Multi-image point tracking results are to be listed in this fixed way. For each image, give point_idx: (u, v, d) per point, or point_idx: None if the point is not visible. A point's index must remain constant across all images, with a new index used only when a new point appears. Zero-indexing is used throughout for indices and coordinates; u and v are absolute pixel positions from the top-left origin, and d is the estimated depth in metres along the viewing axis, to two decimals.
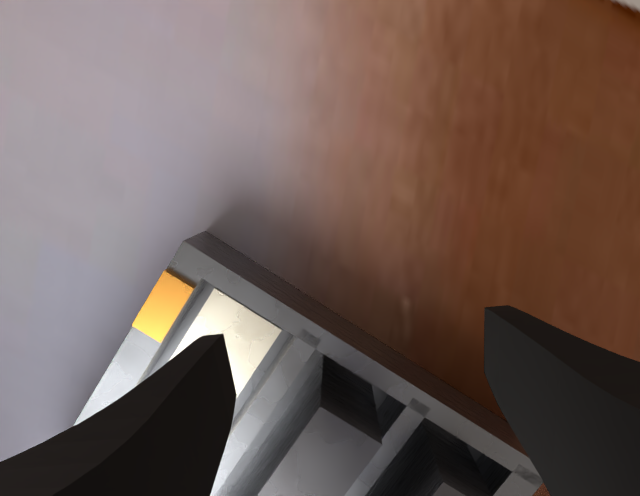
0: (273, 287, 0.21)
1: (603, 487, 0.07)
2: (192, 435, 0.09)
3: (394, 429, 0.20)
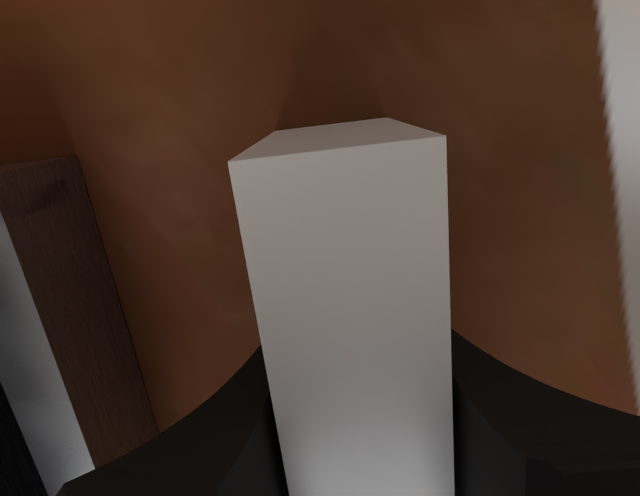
0: None
1: None
2: None
3: None
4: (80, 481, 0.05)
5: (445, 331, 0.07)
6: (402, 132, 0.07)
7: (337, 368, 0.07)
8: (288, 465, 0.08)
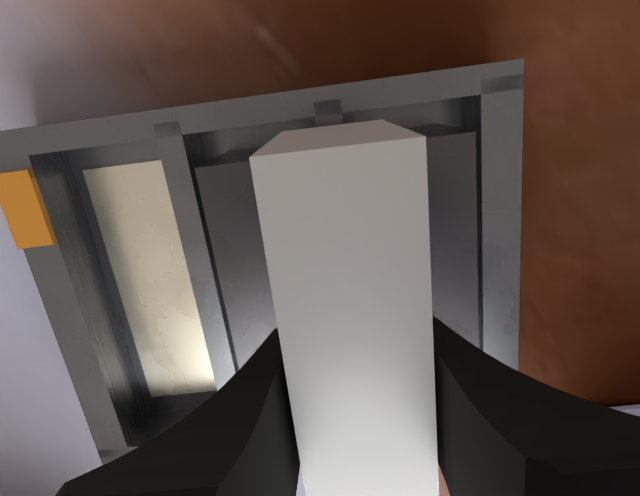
0: None
1: None
2: (285, 427, 0.09)
3: None
4: (80, 481, 0.05)
5: (427, 298, 0.08)
6: (392, 133, 0.08)
7: (337, 330, 0.08)
8: (296, 414, 0.09)
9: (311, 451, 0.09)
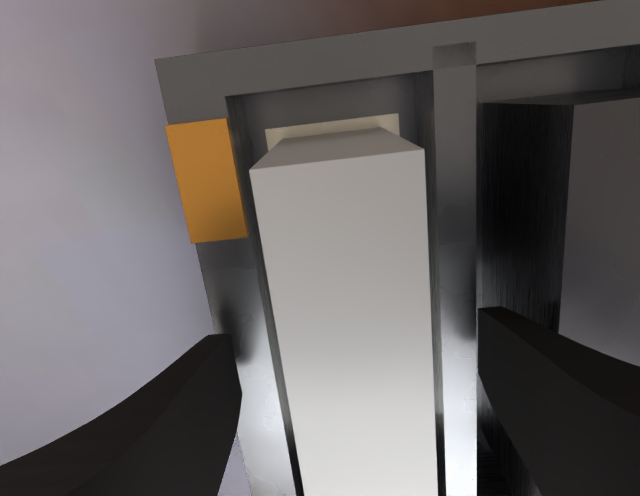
0: None
1: (592, 488, 0.07)
2: (200, 434, 0.09)
3: None
4: None
5: (426, 308, 0.08)
6: (391, 144, 0.08)
7: (336, 340, 0.09)
8: (296, 423, 0.09)
9: (310, 460, 0.10)
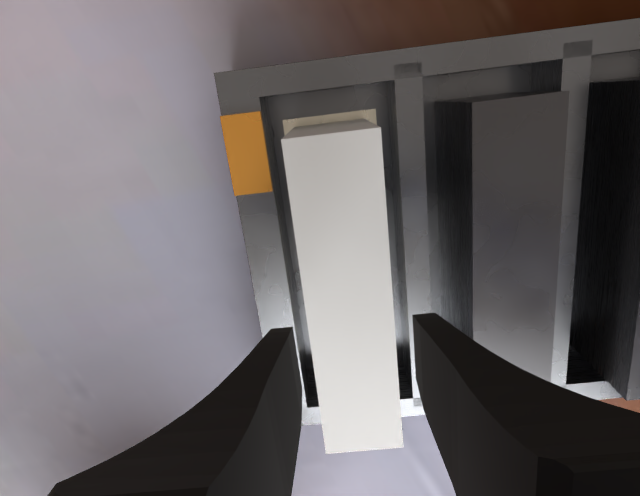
0: None
1: None
2: (280, 427, 0.09)
3: None
4: (72, 482, 0.05)
5: (385, 223, 0.14)
6: (364, 126, 0.14)
7: (331, 244, 0.14)
8: (306, 300, 0.15)
9: (315, 326, 0.15)
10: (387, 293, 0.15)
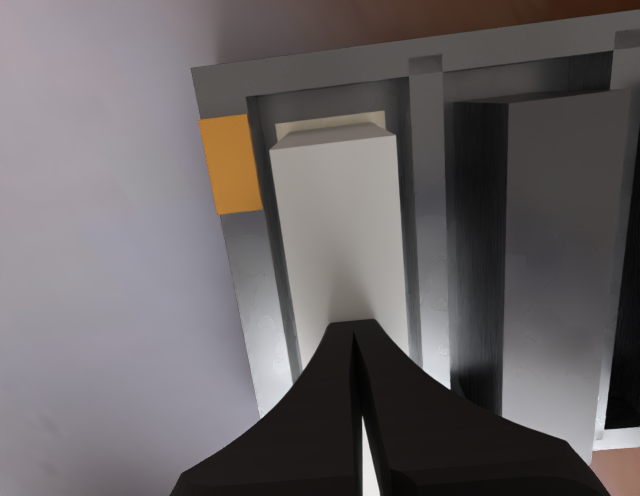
0: None
1: None
2: (355, 421, 0.09)
3: None
4: (197, 471, 0.05)
5: (400, 255, 0.11)
6: (373, 133, 0.11)
7: (333, 280, 0.11)
8: (302, 346, 0.12)
9: None
10: (401, 338, 0.12)
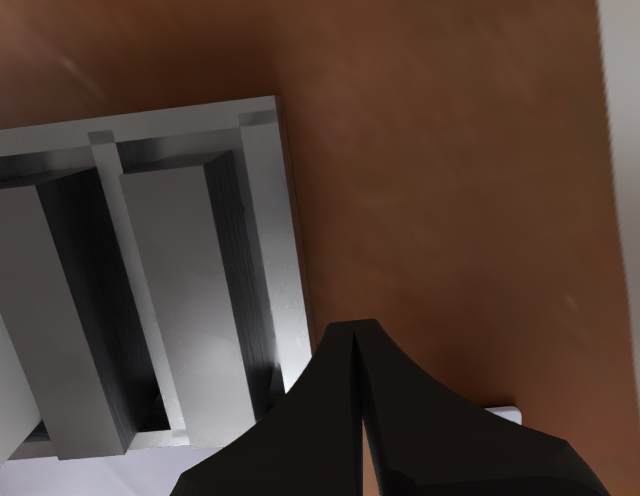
0: None
1: None
2: (355, 421, 0.09)
3: (104, 177, 0.18)
4: (198, 471, 0.05)
5: None
6: None
7: None
8: None
9: None
10: None
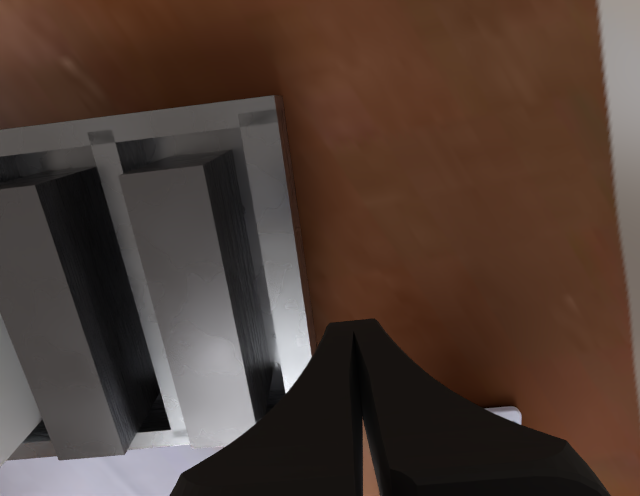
0: None
1: None
2: (355, 421, 0.09)
3: (104, 177, 0.18)
4: (198, 471, 0.05)
5: None
6: None
7: None
8: None
9: None
10: None
